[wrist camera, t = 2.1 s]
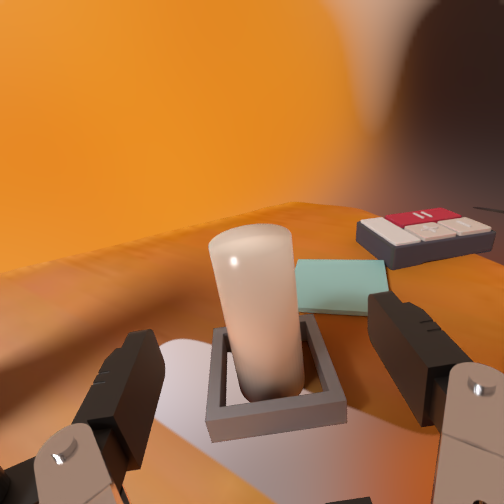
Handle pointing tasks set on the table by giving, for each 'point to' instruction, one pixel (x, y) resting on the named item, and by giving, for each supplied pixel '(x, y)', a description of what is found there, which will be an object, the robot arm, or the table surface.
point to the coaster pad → (338, 285)
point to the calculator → (423, 237)
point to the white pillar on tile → (260, 309)
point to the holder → (276, 410)
